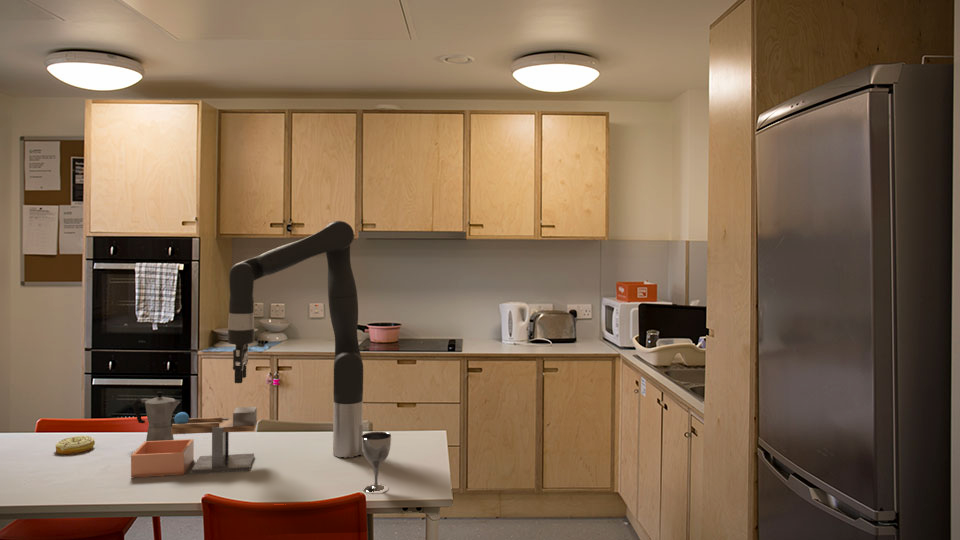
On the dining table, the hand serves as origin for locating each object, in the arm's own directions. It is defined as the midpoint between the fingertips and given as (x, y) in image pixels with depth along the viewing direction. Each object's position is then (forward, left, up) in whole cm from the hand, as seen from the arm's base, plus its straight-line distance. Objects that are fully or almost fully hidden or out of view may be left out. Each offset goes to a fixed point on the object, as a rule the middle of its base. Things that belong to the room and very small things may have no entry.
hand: (240, 380), depth 202 cm
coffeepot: (+29, -23, -26) cm, 46 cm away
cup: (+21, +2, -26) cm, 33 cm away
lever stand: (+5, +2, -26) cm, 26 cm away
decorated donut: (+53, -22, -26) cm, 63 cm away
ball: (+16, +2, -11) cm, 20 cm away
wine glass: (-40, +30, -26) cm, 56 cm away
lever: (+7, +2, -14) cm, 16 cm away
